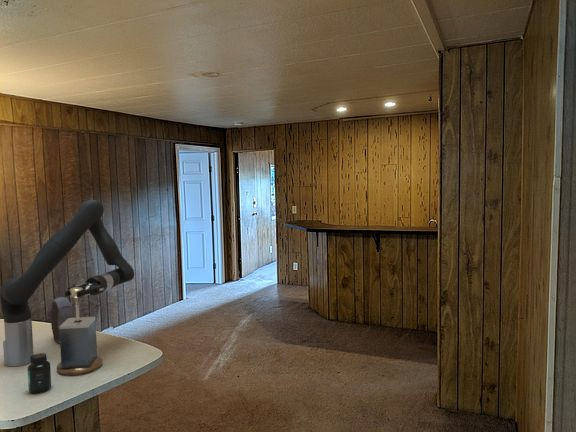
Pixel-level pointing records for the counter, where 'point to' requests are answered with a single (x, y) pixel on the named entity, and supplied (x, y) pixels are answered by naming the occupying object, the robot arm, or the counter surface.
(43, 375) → the supplement bottle
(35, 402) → the counter surface
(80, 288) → the plunger
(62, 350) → the square holed block
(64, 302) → the soft grey pack
